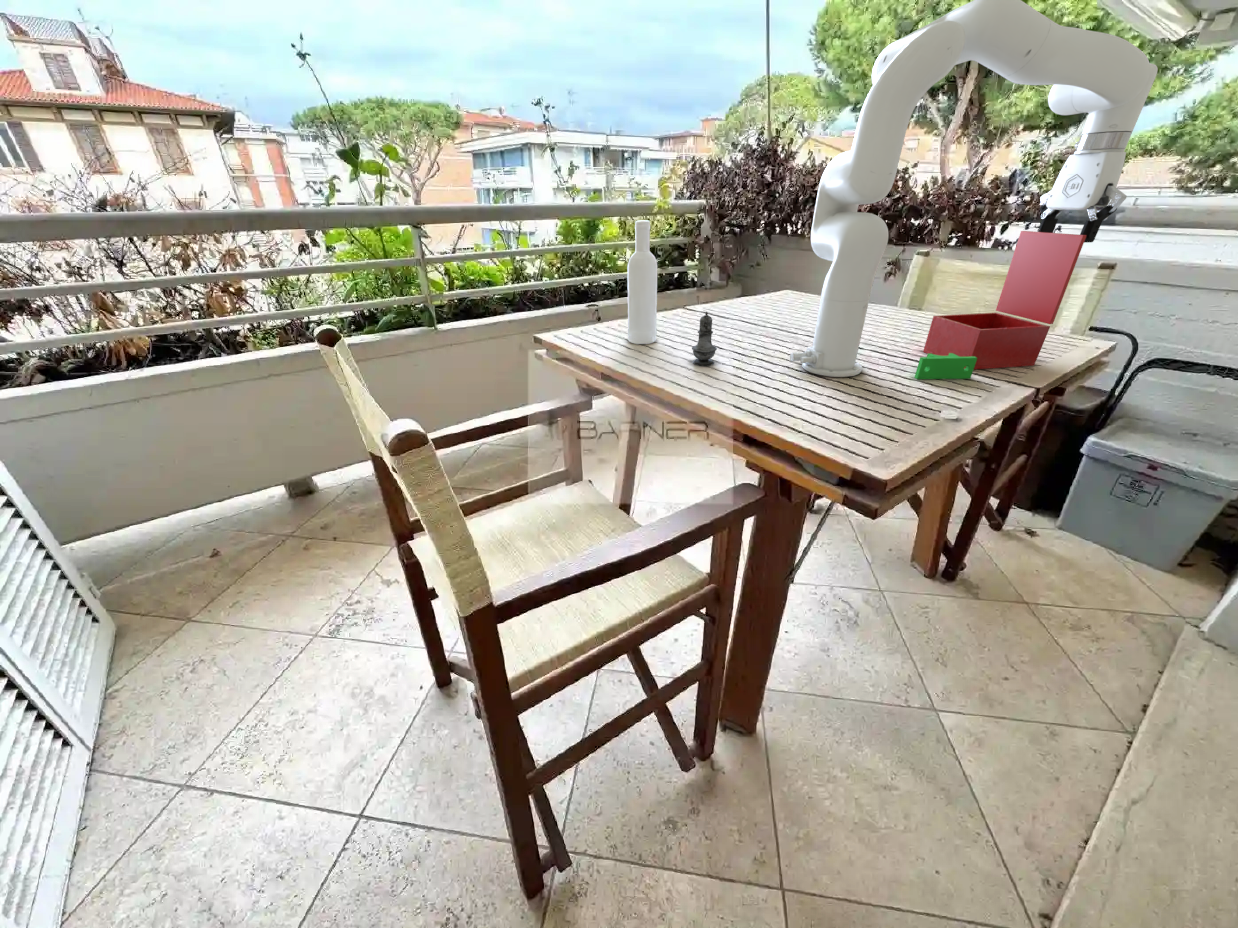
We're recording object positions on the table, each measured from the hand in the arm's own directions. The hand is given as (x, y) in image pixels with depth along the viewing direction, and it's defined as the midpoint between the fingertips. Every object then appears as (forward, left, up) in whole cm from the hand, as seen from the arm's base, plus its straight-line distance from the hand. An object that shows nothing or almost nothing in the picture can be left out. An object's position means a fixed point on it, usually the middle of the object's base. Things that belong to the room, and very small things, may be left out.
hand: (1063, 240), depth 103 cm
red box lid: (-3, 0, -7) cm, 8 cm away
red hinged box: (-11, 0, -25) cm, 28 cm away
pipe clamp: (-28, -10, -25) cm, 39 cm away
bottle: (-86, +32, -25) cm, 95 cm away
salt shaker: (-75, +9, -25) cm, 80 cm away
